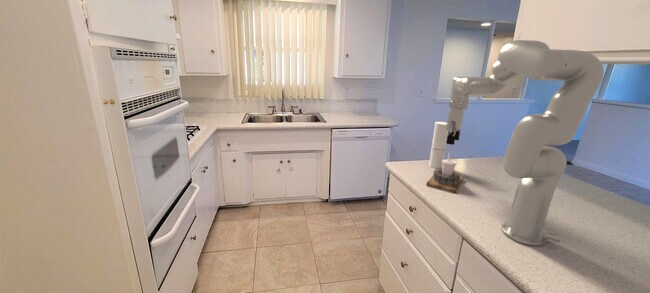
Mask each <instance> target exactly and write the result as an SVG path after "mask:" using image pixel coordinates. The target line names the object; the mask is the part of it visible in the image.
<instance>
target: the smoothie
mask: <svg viewBox="0 0 650 293" xmlns="http://www.w3.org/2000/svg"><path fill="white" fill-rule="evenodd" d="M450 157H451V152H448V156H447V159H445V158H444V160H442V168H441V169H442V175H444V176H451V177H452V174H453V171H455V167H456V166H457V162H456V161H455V160H453V159H450Z"/></svg>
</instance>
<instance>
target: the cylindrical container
mask: <svg viewBox="0 0 650 293" xmlns="http://www.w3.org/2000/svg"><path fill="white" fill-rule="evenodd" d="M446 127H447V122H445V121H435V122H434V127H433V128H434V129H433V135H432V142H431V149H430V156H429V164H428V166H429V167H430V168H433V169H435V170H436V169H442V160H445V154H446V147H447V143H446V142H447V135H448V131H449V130H446Z"/></svg>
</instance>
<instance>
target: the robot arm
mask: <svg viewBox="0 0 650 293" xmlns="http://www.w3.org/2000/svg"><path fill="white" fill-rule="evenodd" d="M491 72H492V75H489V76H454V77H453V79H452V83H451V89H450V90H451V91H450V95H449V96H450V97H449V101H448V109H449V113H448V117H447V122H446V123H447V127H446V130H448V135H447V142H446V145H452V146H453V145H455V141H459V140H460V134H461V129H462V127H463V122H464V114H465V110H468V106H469V100H470V97H471V96H472V97H473V96H490V95H493V94H495V93H497V92H500V91H501V90H504V89H505V88H506V87H508V85H509V84H510V82H511V80H514V79H515V78H517V77H520V76H522V77H525V78H528V79H530V80H534V81H541V82H545V81H546V82H549V81H551V82H552V81H553V82H554V81H555V82H556V81H557V82H558V81H559V82H560V81H562V82H563V84H562V85H560V87H559V88H558V89H557V90H556V91H555V92H554V94H553V95H552V97H551V99H550V101H549V103H548V106H547V108H546V110H545V111H544V112H543V113H534V114H529V115H526V116H524V117H523V118H522V119H520V120H519V121H518V123H517V124H516V125H515V127H514V129H513V132H512V135H511V138H510V140H509V143H508V145H507V148H506V151H505V152H504V157H503V160H502V161H503V162H502V163H503V169H504V170H505V172H506V174H508V175H509V176H510V177H512V178H515V179H519V181H518V184H517V186H516V189H515V193H514V198H513V201H512V205H511V209H510V214H509V217H508V221H505V222H503V223H502V224H501V228H500V229H501V231H502V233H503V234H504V235H505V236H506V237H507V238H509V239H511V240H513V241H515V242H518V243H520V244H523V245H528V246H533V247H534V246H535V247H537V246H543V245H545V244H546V242H547V240H551V241H553V242H557V243H560V242H561V236H560V235H559V236H558V235H556V232H555V231H552V230H547V229H546V228H545V223H546V220H547V218H548V217H547V216H548V213H549V211H550V206H551V203H552V200H553V197H554V194H555V191H556V188H557V186H558V183H559V182H560V180H561V178H562V176H563V175H564V172H565V170H566V168H567V164H568V163H567V161H568V160H567V157H566V155H565V153H564V152H563V151H562V150H561V149H559V148H557V147H554V146H562V145H567V144H568V143H570V142H572V140H573V139H574V138H575V136H576V134H577V132H578V131H579V130H578V129H579V127H580V126H581V124H582V121H583V119H584V117H585V115H586V113H587V111H588V109H589V106H590V104H591V102H592V100H593V98H594V97H595V95H596V93H597V92H598V90H599V88H600V86H601V84H602V82H603V79H604V75H605V74H604V73H605V72H604V66H603V63H602V62H601V60H600V59H599V58H598V57H597V56H596V55H594V54H593V53H591V52H587V51H584V50H578V49H553V48H552V49H551V48H550V47H549V45H548V44H547V43H545V42H543V41H540V40H531V39H530V40H525V39H524V40H523V39H516V40H515V39H514V40H511V41H508V42H507V43H506V44H505V45H503V46H502V47H501V49H500V50H499V53H498V56H497V60H496V61H495V62H493V65H492V67H491Z"/></svg>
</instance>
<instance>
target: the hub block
mask: <svg viewBox="0 0 650 293" xmlns="http://www.w3.org/2000/svg"><path fill="white" fill-rule="evenodd" d="M464 179H465V177H464V176H461V174H460V172H457V171H455V170H454V171H453V174H452V177H451V176H444V175H442V168H441V169H436V168H435V169H434V171H433V175H432V176H431V177H430V178H429V179H428V180H427V181H426V186H427V187H430V188H435V189H439V190H442V191H446V192H450V193H452V194H453V193H454V194H456V193H457V191H458V190H459V188H460V187H461V186H462V183H463V181H464Z"/></svg>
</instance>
